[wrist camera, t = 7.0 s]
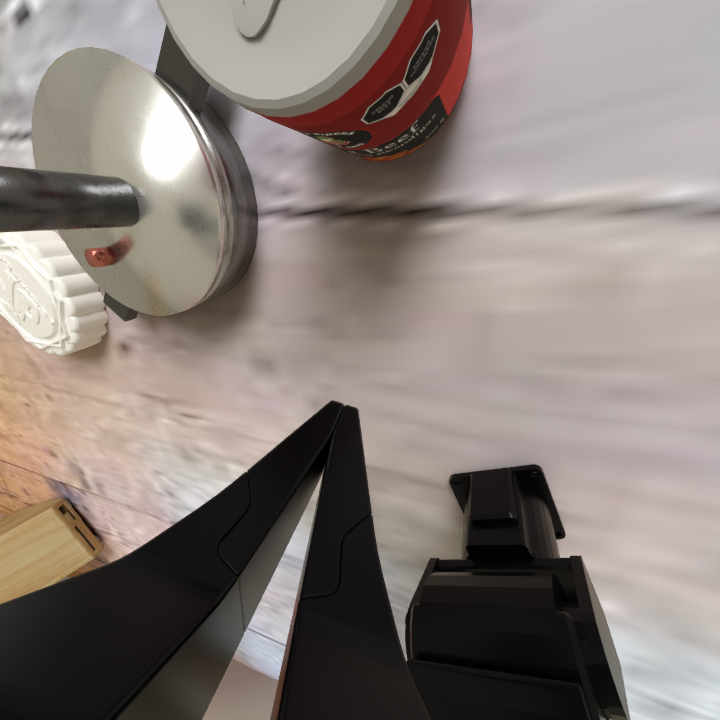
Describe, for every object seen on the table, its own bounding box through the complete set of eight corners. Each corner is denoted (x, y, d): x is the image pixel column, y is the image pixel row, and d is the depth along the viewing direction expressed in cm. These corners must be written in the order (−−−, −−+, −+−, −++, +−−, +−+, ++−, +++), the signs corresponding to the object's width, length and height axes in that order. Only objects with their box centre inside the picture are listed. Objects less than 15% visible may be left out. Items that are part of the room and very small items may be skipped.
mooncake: (4, 264, 34) (-43, 270, 31) (43, 198, 28) (-11, 196, 25) (80, 361, 36) (43, 374, 33) (129, 317, 31) (90, 329, 27)
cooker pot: (320, 133, 18) (294, 120, 16) (203, 357, 29) (176, 371, 26) (130, -43, 18) (71, -85, 15) (82, 249, 29) (43, 253, 26)
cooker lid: (265, 175, 17) (93, 147, 9) (183, 351, 24) (52, 412, 17) (55, -18, 17) (-296, -204, 9) (38, 222, 24) (-161, 226, 17)
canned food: (318, 156, 19) (152, 101, 9) (330, -41, 15) (79, -453, 6) (447, 172, 17) (401, 125, 8) (497, -47, 13) (528, -661, 4)
